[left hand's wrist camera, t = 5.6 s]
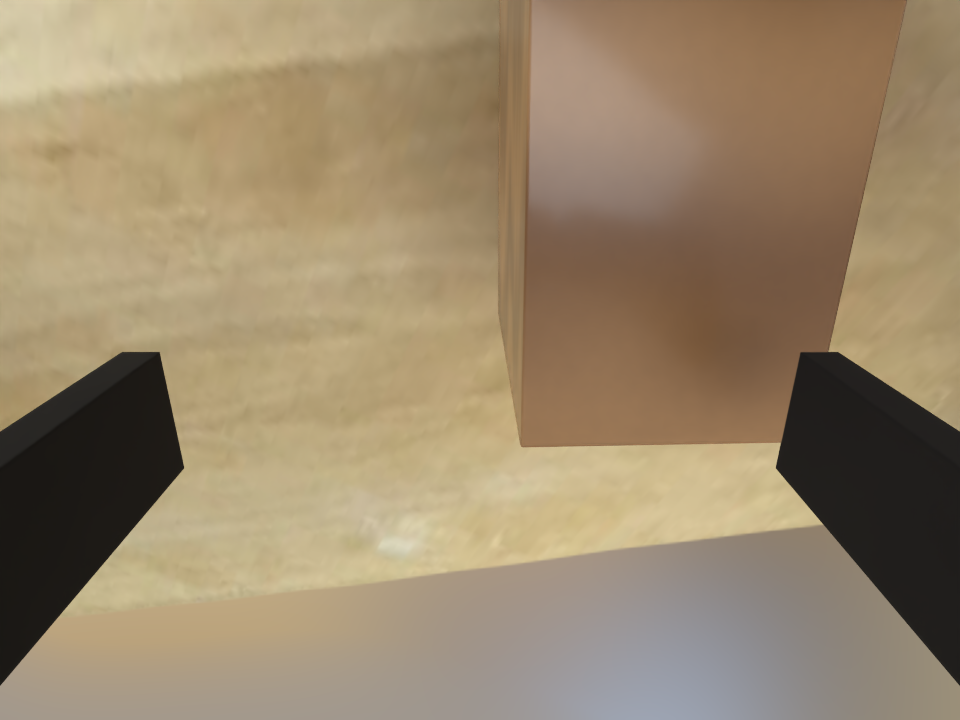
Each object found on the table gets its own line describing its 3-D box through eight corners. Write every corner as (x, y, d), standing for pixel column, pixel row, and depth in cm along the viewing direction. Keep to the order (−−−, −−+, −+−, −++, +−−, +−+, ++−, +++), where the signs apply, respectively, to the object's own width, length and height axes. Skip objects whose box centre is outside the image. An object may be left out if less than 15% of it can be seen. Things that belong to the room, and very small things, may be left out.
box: (670, 311, 27) (809, 443, 16) (498, 314, 27) (520, 448, 16) (745, -344, 19) (1127, -971, 8) (500, -346, 19) (548, -987, 8)
